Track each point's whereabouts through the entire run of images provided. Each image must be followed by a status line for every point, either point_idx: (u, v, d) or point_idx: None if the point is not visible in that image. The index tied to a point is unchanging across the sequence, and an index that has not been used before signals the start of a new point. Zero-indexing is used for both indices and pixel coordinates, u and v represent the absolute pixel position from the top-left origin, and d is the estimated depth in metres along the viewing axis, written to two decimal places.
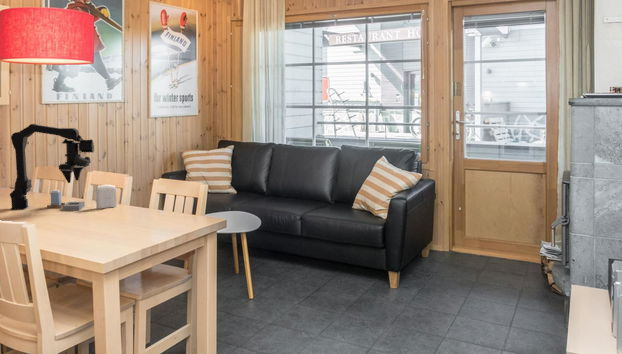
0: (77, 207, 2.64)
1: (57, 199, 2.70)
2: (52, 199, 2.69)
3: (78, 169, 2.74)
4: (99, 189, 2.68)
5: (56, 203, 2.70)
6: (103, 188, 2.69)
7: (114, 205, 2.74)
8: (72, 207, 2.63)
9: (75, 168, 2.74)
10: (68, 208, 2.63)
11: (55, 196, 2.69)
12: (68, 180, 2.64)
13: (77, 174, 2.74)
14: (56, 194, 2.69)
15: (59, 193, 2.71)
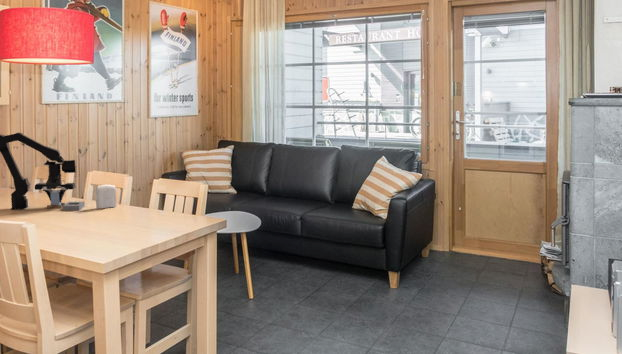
0: (77, 207, 2.64)
1: (57, 199, 2.70)
2: (52, 199, 2.69)
3: None
4: (99, 189, 2.68)
5: (56, 203, 2.70)
6: (103, 188, 2.69)
7: (114, 205, 2.74)
8: (72, 207, 2.63)
9: None
10: (68, 208, 2.63)
11: (55, 196, 2.69)
12: None
13: None
14: (56, 194, 2.69)
15: (59, 193, 2.71)
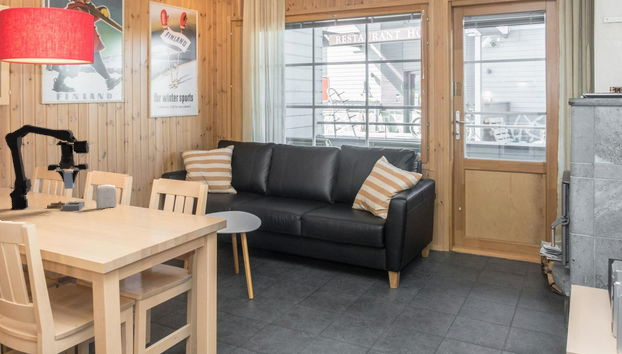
0: (77, 207, 2.64)
1: (70, 180, 2.66)
2: (65, 180, 2.66)
3: None
4: (99, 189, 2.68)
5: (69, 184, 2.67)
6: (103, 188, 2.69)
7: (114, 205, 2.74)
8: (72, 207, 2.63)
9: None
10: (68, 208, 2.63)
11: (69, 177, 2.66)
12: None
13: None
14: (69, 175, 2.66)
15: (72, 174, 2.68)
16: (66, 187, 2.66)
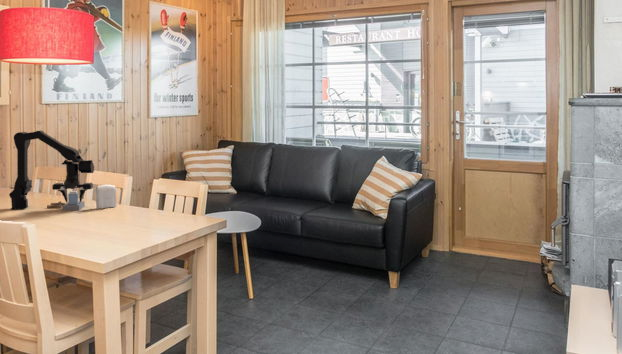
0: (77, 207, 2.64)
1: (75, 200, 2.67)
2: (70, 200, 2.66)
3: None
4: (99, 189, 2.68)
5: (74, 204, 2.67)
6: (103, 188, 2.69)
7: (114, 205, 2.74)
8: (72, 207, 2.63)
9: None
10: (68, 208, 2.63)
11: (73, 198, 2.66)
12: None
13: None
14: (74, 195, 2.66)
15: (77, 194, 2.68)
16: None
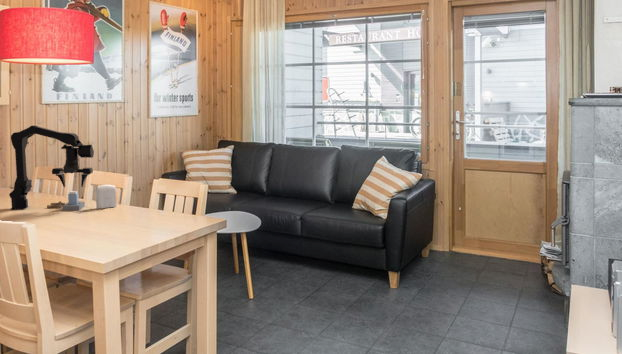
0: (77, 207, 2.64)
1: (75, 200, 2.67)
2: (70, 200, 2.66)
3: None
4: (99, 189, 2.68)
5: (74, 204, 2.67)
6: (103, 188, 2.69)
7: (114, 205, 2.74)
8: (72, 207, 2.63)
9: None
10: (68, 208, 2.63)
11: (73, 198, 2.66)
12: None
13: None
14: (74, 195, 2.66)
15: (77, 194, 2.68)
16: None
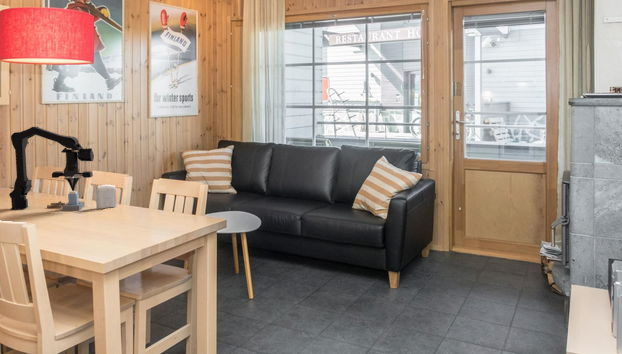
0: (77, 207, 2.64)
1: (75, 200, 2.67)
2: (70, 200, 2.66)
3: None
4: (99, 189, 2.68)
5: (74, 204, 2.67)
6: (103, 188, 2.69)
7: (114, 205, 2.74)
8: (72, 207, 2.63)
9: None
10: (68, 208, 2.63)
11: (73, 198, 2.66)
12: None
13: None
14: (74, 195, 2.66)
15: (77, 194, 2.68)
16: None
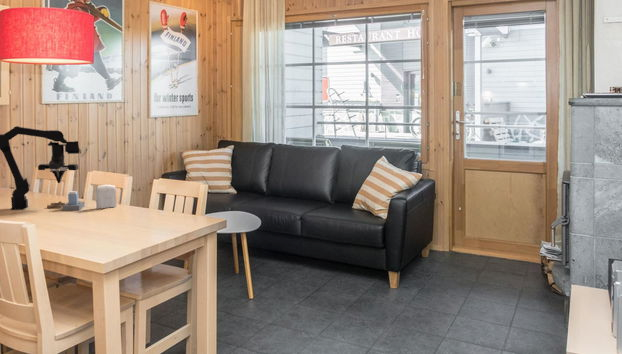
0: (77, 207, 2.64)
1: (75, 200, 2.67)
2: (70, 200, 2.66)
3: None
4: (99, 189, 2.68)
5: (74, 204, 2.67)
6: (103, 188, 2.69)
7: (114, 205, 2.74)
8: (72, 207, 2.63)
9: None
10: (68, 208, 2.63)
11: (73, 198, 2.66)
12: None
13: None
14: (74, 195, 2.66)
15: (77, 194, 2.68)
16: None
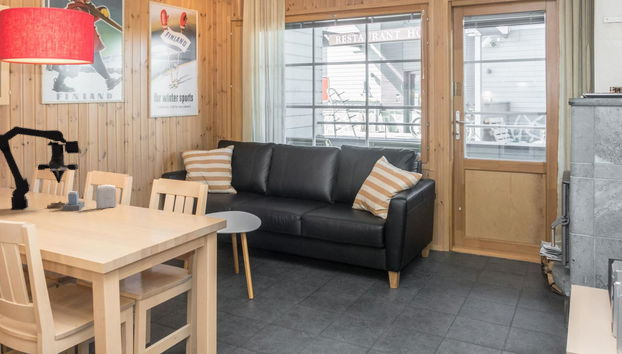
0: (77, 207, 2.64)
1: (75, 200, 2.67)
2: (70, 200, 2.66)
3: None
4: (99, 189, 2.68)
5: (74, 204, 2.67)
6: (103, 188, 2.69)
7: (114, 205, 2.74)
8: (72, 207, 2.63)
9: None
10: (68, 208, 2.63)
11: (73, 198, 2.66)
12: None
13: None
14: (74, 195, 2.66)
15: (77, 194, 2.68)
16: None
